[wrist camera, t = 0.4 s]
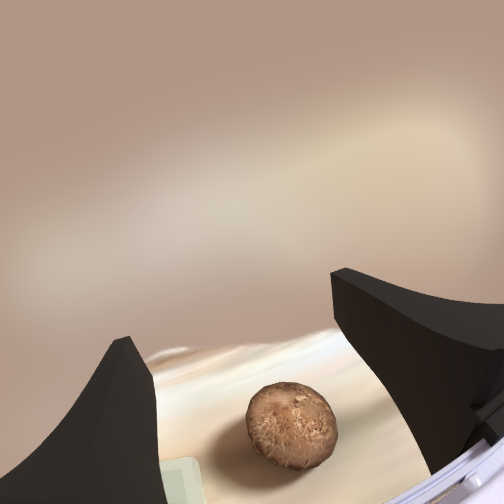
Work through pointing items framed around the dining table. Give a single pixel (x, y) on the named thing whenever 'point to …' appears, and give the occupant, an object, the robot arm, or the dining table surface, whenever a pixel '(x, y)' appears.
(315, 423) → the mushroom
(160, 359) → the dining table surface
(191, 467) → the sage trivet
